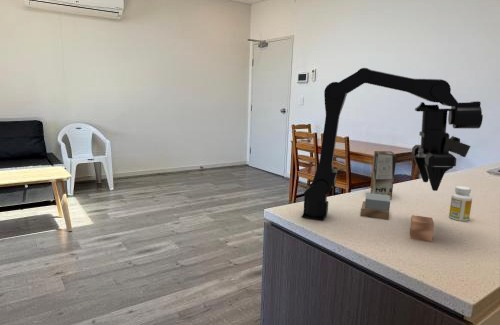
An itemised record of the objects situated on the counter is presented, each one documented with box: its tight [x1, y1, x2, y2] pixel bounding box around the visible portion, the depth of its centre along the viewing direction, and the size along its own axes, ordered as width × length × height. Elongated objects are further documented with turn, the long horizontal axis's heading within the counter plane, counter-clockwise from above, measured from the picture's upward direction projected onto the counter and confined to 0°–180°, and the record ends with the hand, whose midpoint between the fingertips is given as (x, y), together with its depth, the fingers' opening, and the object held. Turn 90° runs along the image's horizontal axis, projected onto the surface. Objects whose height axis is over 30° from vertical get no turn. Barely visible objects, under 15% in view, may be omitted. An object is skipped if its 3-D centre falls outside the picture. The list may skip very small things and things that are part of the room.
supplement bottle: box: [448, 185, 473, 222], centre depth 108 cm, size 5×5×10 cm
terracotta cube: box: [409, 214, 435, 243], centre depth 93 cm, size 5×5×5 cm
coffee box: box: [370, 150, 397, 201], centre depth 129 cm, size 9×6×16 cm
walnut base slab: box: [360, 200, 390, 221], centre depth 111 cm, size 8×8×3 cm
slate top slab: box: [364, 192, 391, 212], centre depth 110 cm, size 7×7×3 cm
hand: (429, 186), depth 96 cm, fingers open, 9 cm apart
